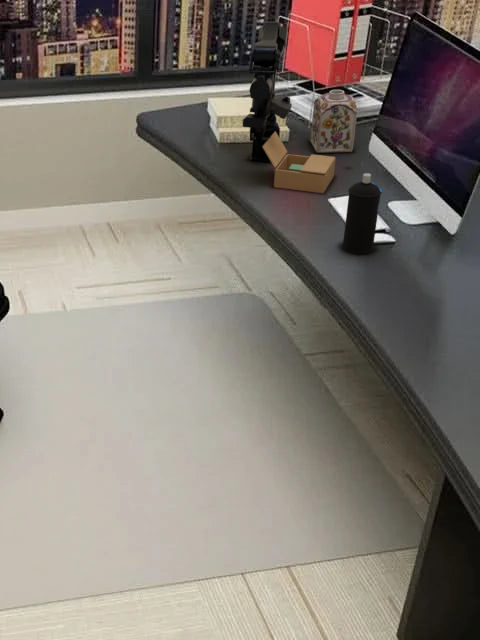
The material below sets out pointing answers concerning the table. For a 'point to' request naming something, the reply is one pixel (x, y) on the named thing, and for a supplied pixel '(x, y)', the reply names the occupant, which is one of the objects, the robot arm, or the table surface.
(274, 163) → the flap
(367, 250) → the aerosol can
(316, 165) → the carton
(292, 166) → the block
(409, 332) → the table surface
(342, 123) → the decorative jar
